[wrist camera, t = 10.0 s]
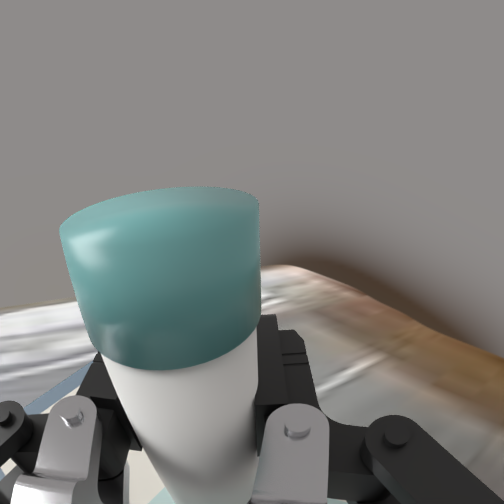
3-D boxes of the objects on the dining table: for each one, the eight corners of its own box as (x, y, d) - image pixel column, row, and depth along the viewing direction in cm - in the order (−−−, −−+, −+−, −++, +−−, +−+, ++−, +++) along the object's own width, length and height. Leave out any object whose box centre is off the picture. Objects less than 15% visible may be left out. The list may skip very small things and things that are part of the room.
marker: (165, 513, 9) (31, 226, 5) (211, 463, 12) (160, 183, 7) (235, 554, 8) (149, 267, 3) (279, 495, 10) (293, 193, 6)
